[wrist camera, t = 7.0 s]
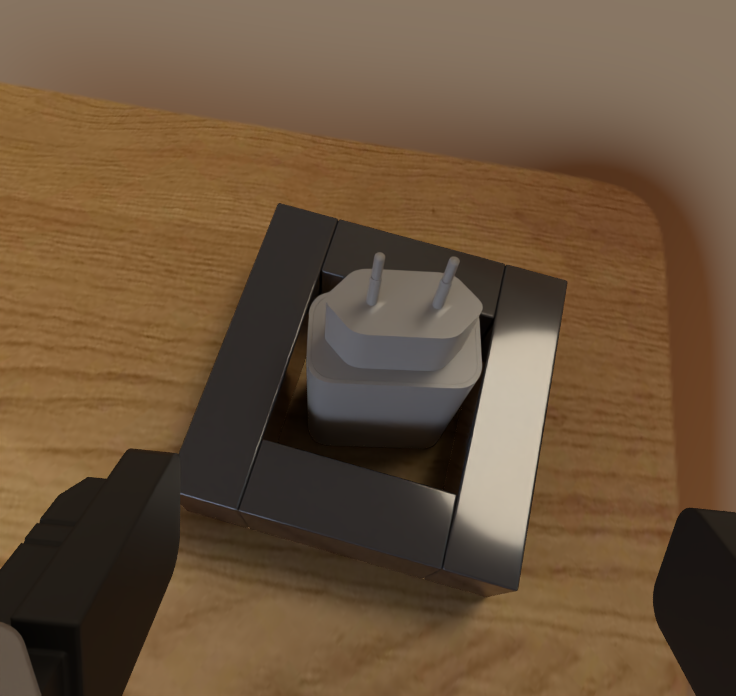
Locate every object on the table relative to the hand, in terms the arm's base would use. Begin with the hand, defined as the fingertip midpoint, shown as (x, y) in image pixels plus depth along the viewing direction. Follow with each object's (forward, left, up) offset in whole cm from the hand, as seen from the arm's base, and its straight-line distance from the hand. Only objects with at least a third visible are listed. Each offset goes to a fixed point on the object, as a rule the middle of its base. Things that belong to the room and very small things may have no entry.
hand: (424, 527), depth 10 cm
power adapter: (+1, -7, -15) cm, 17 cm away
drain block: (+1, -7, -15) cm, 17 cm away
